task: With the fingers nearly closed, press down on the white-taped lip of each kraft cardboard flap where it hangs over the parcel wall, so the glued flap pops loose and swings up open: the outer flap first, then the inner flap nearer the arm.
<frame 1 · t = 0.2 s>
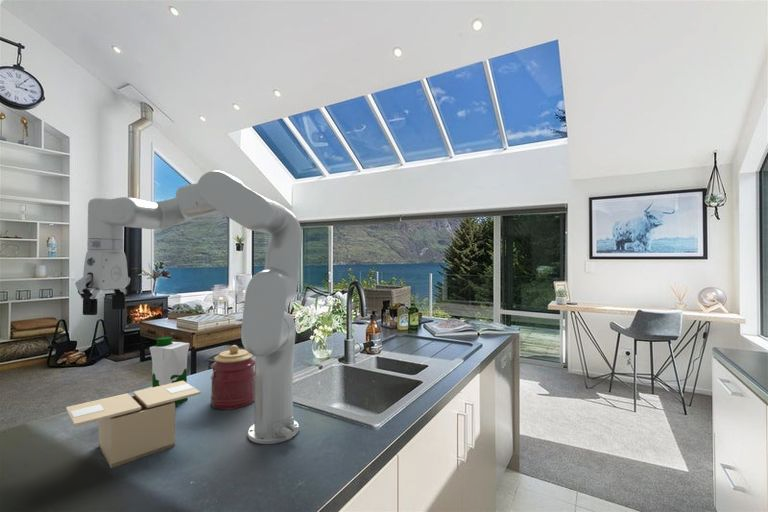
hand: (105, 311, 96), 31 cm above the counter, tool pointing down, fingers open, 9 cm apart
parcel: (136, 446, 87), on the counter
milk carton: (169, 403, 113), on the counter
canister: (233, 402, 114), on the counter
inner flap: (167, 392, 92), point 11 cm above the counter, hinge at 0.0°
outer flap: (103, 408, 82), point 11 cm above the counter, hinge at 0.0°
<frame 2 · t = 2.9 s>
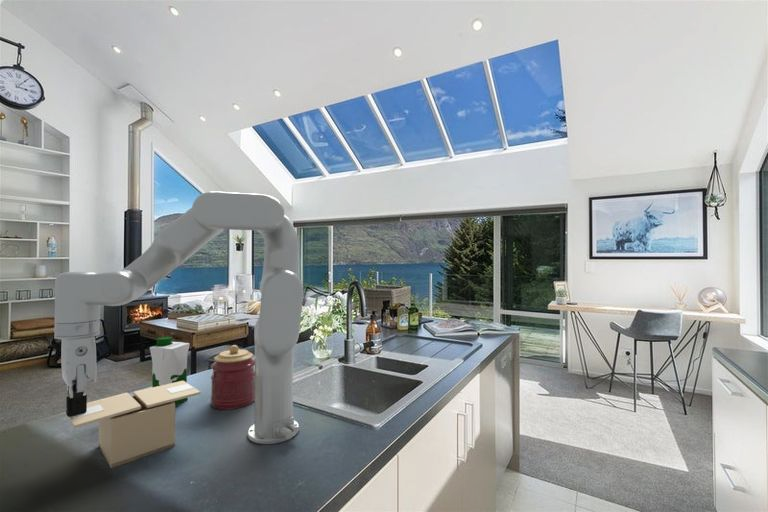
hand: (76, 413, 79), 11 cm above the counter, tool pointing down, fingers closed
outer flap: (103, 408, 82), point 11 cm above the counter, hinge at 2.6°, touching gripper
everything else where it was.
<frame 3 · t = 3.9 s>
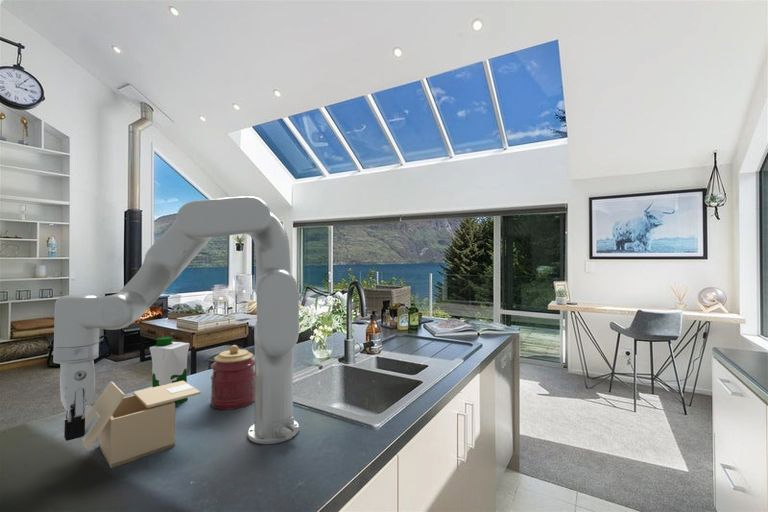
hand: (74, 437, 79), 6 cm above the counter, tool pointing down, fingers closed
outer flap: (100, 413, 82), point 10 cm above the counter, hinge at 57.6°, touching gripper
everything else where it was.
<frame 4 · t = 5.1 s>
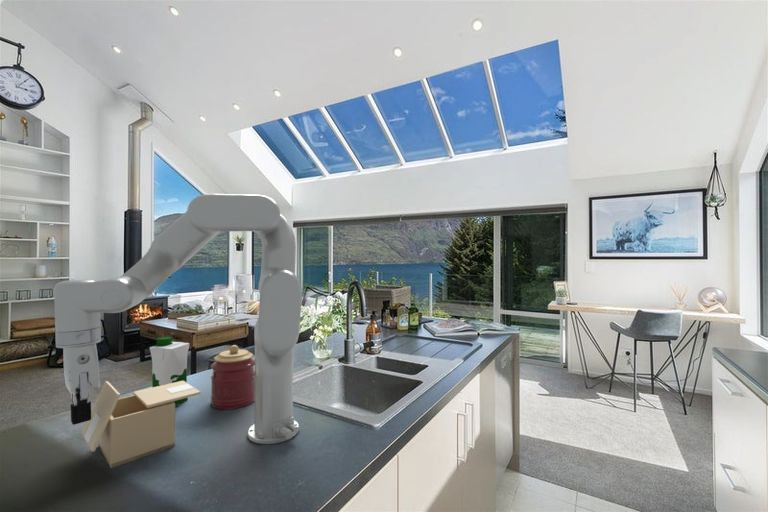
hand: (81, 421, 79), 9 cm above the counter, tool pointing down, fingers closed
outer flap: (100, 413, 82), point 10 cm above the counter, hinge at 67.5°
everything else where it was.
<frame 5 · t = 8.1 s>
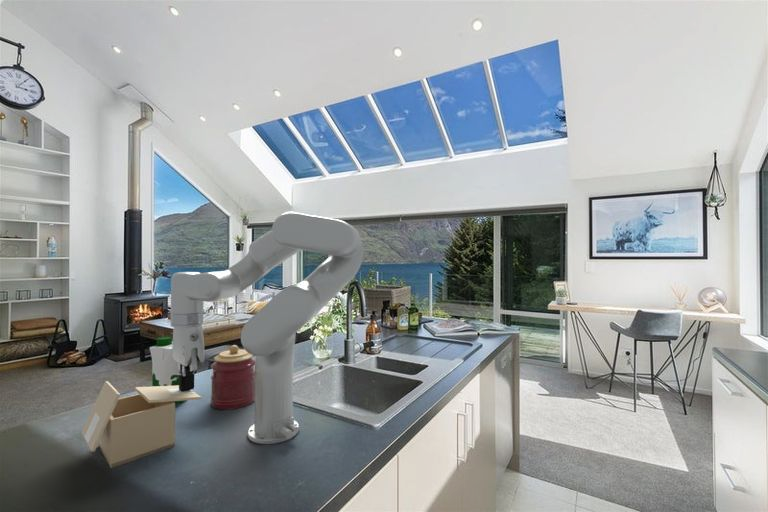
hand: (186, 389, 95), 11 cm above the counter, tool pointing down, fingers closed
inner flap: (167, 393, 92), point 11 cm above the counter, hinge at 12.1°, touching gripper
everything else where it was.
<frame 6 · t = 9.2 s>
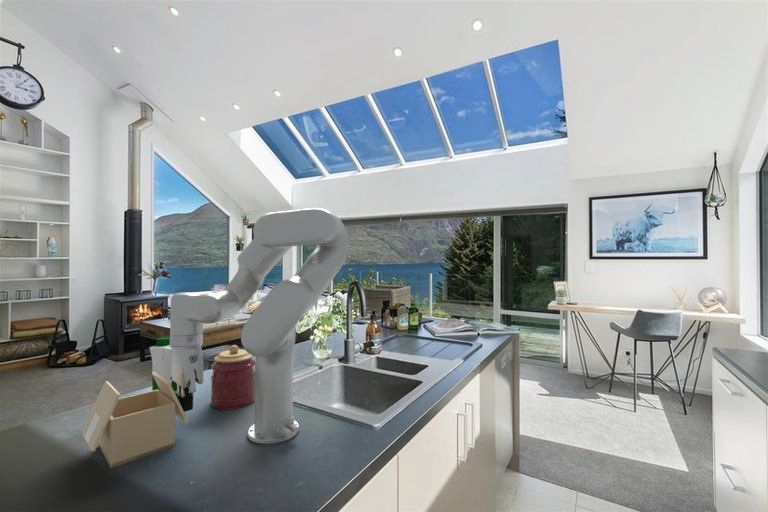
hand: (185, 410, 95), 5 cm above the counter, tool pointing down, fingers closed
inner flap: (169, 396, 92), point 10 cm above the counter, hinge at 67.9°, touching gripper
everything else where it was.
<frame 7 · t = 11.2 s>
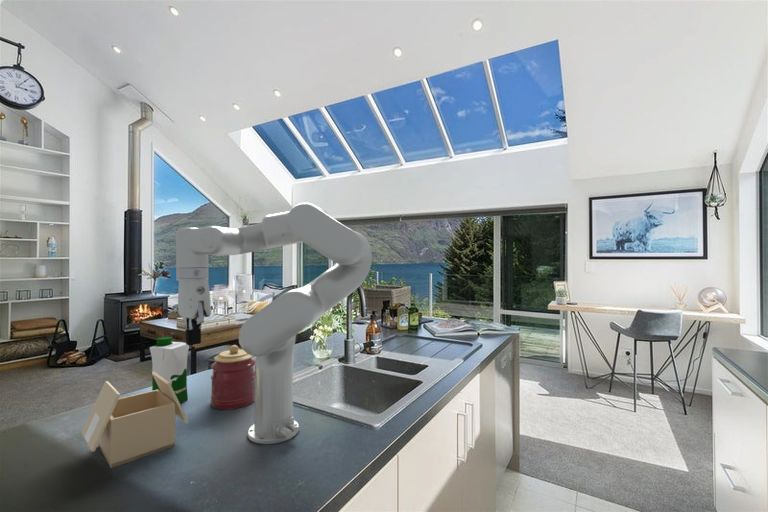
hand: (193, 343, 97), 22 cm above the counter, tool pointing down, fingers closed
inner flap: (169, 396, 92), point 10 cm above the counter, hinge at 68.0°
everything else where it was.
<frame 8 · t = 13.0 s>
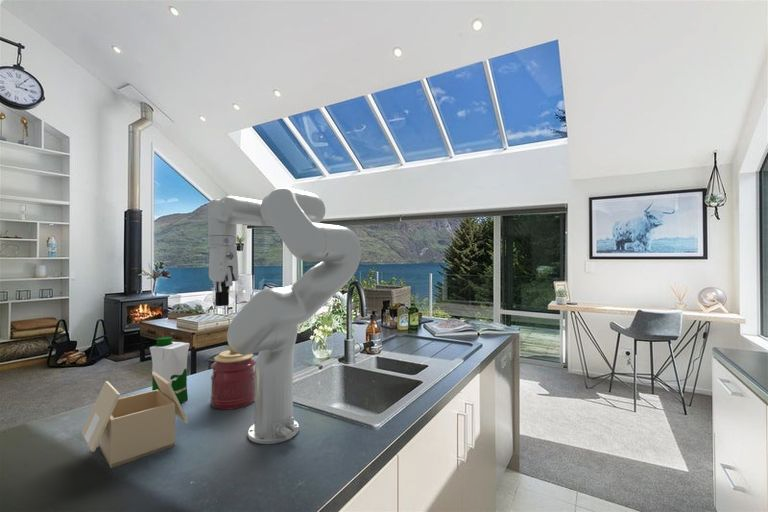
hand: (222, 305, 106), 31 cm above the counter, tool pointing down, fingers closed
nothing on the counter moved.
at the end: outer flap at +68° (first picture: +0°); inner flap at +68° (first picture: +0°) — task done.
